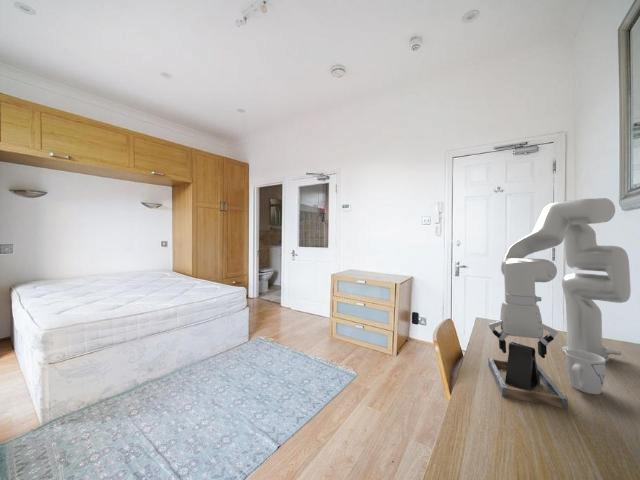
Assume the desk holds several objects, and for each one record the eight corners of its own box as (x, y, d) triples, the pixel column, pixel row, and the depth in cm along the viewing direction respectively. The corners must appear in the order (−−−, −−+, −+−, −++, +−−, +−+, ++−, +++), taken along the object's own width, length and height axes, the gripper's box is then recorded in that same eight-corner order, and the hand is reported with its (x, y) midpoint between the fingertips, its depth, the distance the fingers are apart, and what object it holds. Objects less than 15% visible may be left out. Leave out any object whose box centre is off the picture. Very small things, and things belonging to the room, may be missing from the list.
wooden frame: (538, 372, 85) (538, 365, 85) (567, 408, 67) (567, 399, 67) (488, 364, 91) (488, 357, 91) (502, 396, 73) (502, 387, 73)
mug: (596, 403, 69) (595, 367, 69) (556, 388, 76) (555, 355, 76) (611, 391, 74) (610, 357, 74) (572, 378, 82) (571, 347, 82)
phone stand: (527, 392, 74) (526, 351, 74) (504, 383, 79) (503, 345, 80) (540, 383, 79) (539, 345, 79) (517, 375, 84) (516, 339, 84)
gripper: (550, 298, 79) (552, 352, 79) (485, 295, 86) (487, 345, 86) (561, 304, 73) (563, 363, 72) (489, 300, 80) (492, 354, 80)
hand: (522, 353), depth 79 cm, fingers open, 9 cm apart
